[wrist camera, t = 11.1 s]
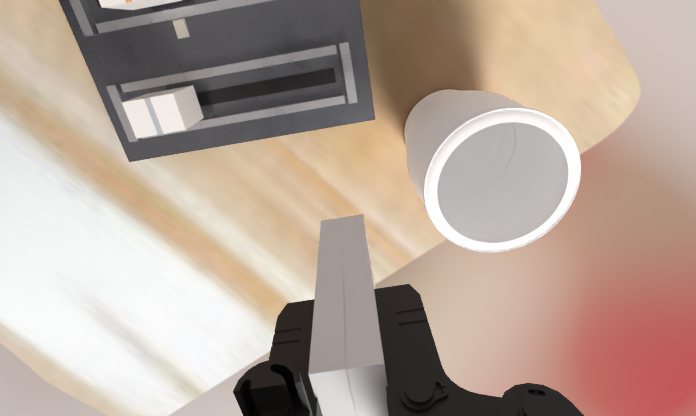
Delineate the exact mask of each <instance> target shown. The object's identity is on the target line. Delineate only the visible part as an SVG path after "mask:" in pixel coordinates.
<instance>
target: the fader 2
mask: <svg viewBox="0 0 696 416" xmlns="http://www.w3.org/2000/svg"><path fill="white" fill-rule="evenodd" d="M122 105H123V107H124V110H125V112H126V114H127V117H128V119H129V122H130V124H131V126H132V129H133V131H134V134H135V136H136V139H137V138H143V137H149V136H154V135H161V134H166V133H171V132H177V131H183V130H187V129H188V128H189V127H191V126H192V125H194V124H195V123H197V122H198V121H200V120H201V119H203V118H204V117H203V114H202V111H201V108H200V105H199V102H198V99H197V96H196V93H195V90H194V87H193V85H191V86H186V87H180V88H175V89H169V90H164V91H158V92H153V93H148V94H145V95H142V96H139V97H136V98H133V99H130V100H128V101H125V102H122Z"/></svg>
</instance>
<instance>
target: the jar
mask: <svg viewBox="0 0 696 416" xmlns="http://www.w3.org/2000/svg"><path fill="white" fill-rule="evenodd" d="M404 138H405V144H406V158H407V167H408V171H409V175H410V178H411V181H412V183H413V186H414V188H415V190H416V191H417V193H418V195H419V196H420V198H421V199H422V201H423V202H424V205H425V208H426V211H427V213H428V215H429V217H430V219H431V221H432V222H433V224H434V225H435V227H436V228H437V229H438V230H439V232H440V233H441V234H442V235H443V236H445V237H446V238H447V239H448V240H450V241H451V242H453V243H455V244H457V245H459V246H461V247H464V248H466V249H469V250H473V251H478V252H502V251H508V250H512V249H516V248H519V247H522V246H524V245H527V244H529V243H531V242H533V241H535V240H537V239H538V238H540V237H541V236H543V235H544V234H546V233H547V232H548V231H550V230H551V229H552V228H553V227H554V226H555V225H556V224H557V223H558V222H559V221H560V220H561V218H562V217H563V216H564V215H565V214H566V212H567V211H568V209H569V207H570V205H571V204H572V202H573V200H574V198H575V196H576V193H577V190H578V186H579V182H580V174H581V163H580V156H579V152H578V149H577V146H576V144H575V142H574V140H573V138H572V137H571V135H570V134H569V132H568V131H567V130H566V129H565V128H564V127H563V126H562V125H561V124H560V123H559V122H557V121H556V120H554V119H553V118H551V117H549V116H548V115H546V114H544V113H542V112H539V111H537V110H534V109H531V108H527V107H524V106H522V105H521V104H519V103H517V102H516V101H514V100H512V99H510V98H508V97H505V96H503V95H500V94H496V93H492V92H487V91H479V90H467V91H459V90H453V89H446V90H440V91H436V92H434V93H431V94H429V95H427V96H426V97H424V98H423V99H421V100H420V101H419V102H418V103H417V104H416V105H415V106H414V108H413V109H412V110H411V112H410V114H409V116H408V118H407V121H406V124H405V130H404Z"/></svg>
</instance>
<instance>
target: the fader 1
mask: <svg viewBox="0 0 696 416" xmlns="http://www.w3.org/2000/svg"><path fill="white" fill-rule="evenodd" d="M178 1H182V0H99V2H100V5H101V7H102V8H113V9H125V10H136V9H141V8H147V7H152V6H157V5H162V4H167V3H172V2H178Z"/></svg>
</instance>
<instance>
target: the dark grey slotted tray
mask: <svg viewBox="0 0 696 416" xmlns="http://www.w3.org/2000/svg"><path fill="white" fill-rule="evenodd" d="M59 2H60V4H61V6H62V8H63V11H64V13H65V15H66V18H67V20H68V22H69V25H70V27H71V29H72V31H73V34H74V36H75V38H76V41H77V43H78V45H79V48H80V50H81V52H82V54H83V57H84V59H85V61H86V64H87V66H88V68H89V71H90V73H91V75H92V77H93V80H94V82H95V84H96V87H97V89H98V91H99V94H100V96H101V98H102V100H103V103H104V105H105V107H106V110H107V112H108V114H109V116H110V119H111V121H112V123H113V126H114V128H115V130H116V133H117V135H118V137H119V139H120V142H121V144H122V146H123V149H124V151H125V153H126V156H127V158H128V160H129V162H132V161H138V160H144V159H150V158H155V157H161V156H167V155H173V154H178V153H184V152H190V151H196V150H202V149H207V148H213V147H219V146H225V145H230V144H236V143H242V142H248V141H254V140H259V139H265V138H271V137H277V136H282V135H288V134H294V133H300V132H306V131H311V130H317V129H323V128H329V127H334V126H340V125H346V124H352V123H358V122H363V121H369V120H375V114H374V107H373V99H372V92H371V85H370V77H369V70H368V63H367V55H366V48H365V41H364V33H363V26H362V19H361V11H360V4H359V0H182V1H178V2H172V3H167V4H162V5H157V6H152V7H147V8H141V9H136V10H125V9H113V8H102V7H101V5H100V2H99V0H59ZM191 85H193V87H194V90H195V93H196V96H197V99H198V102H199V105H200V108H201V111H202V114H203V117H204V118H203V119H201V120H200V121H198V122H197V123H195V124H194V125H192V126H191V127H189V128H188V129H187V130H183V131H177V132H171V133H166V134H161V135H154V136H149V137H143V138H137V139H136V136H135V134H134V131H133V129H132V126H131V124H130V122H129V119H128V117H127V114H126V112H125V110H124V107H123V105H122V102H125V101H128V100H130V99H133V98H136V97H139V96H142V95H145V94H148V93H153V92H158V91H164V90H169V89H175V88H180V87H186V86H191Z"/></svg>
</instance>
